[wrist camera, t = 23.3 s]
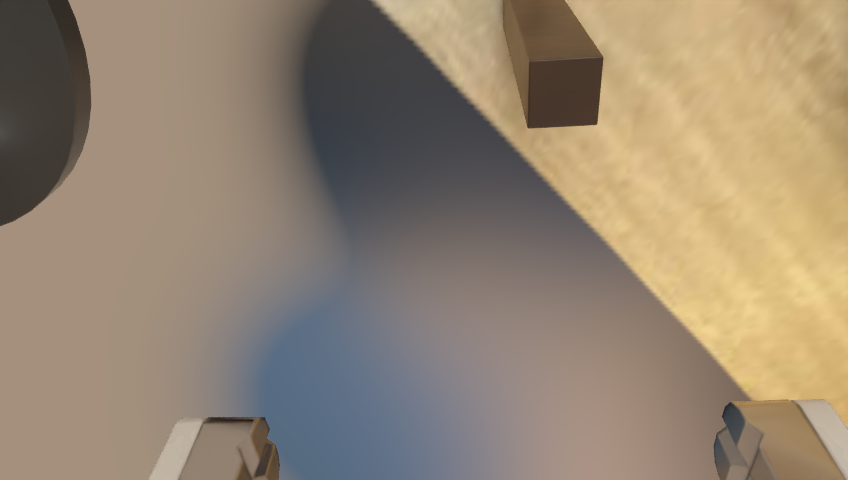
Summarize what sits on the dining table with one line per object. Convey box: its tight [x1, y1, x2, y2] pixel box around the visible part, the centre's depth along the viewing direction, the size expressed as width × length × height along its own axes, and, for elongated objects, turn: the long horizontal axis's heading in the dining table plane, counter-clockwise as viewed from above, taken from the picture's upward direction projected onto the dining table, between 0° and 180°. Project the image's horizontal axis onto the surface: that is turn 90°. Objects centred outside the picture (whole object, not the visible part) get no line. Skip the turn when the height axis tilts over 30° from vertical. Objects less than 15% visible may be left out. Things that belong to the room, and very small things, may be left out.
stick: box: [503, 0, 603, 128], centre depth 26 cm, size 2×2×14 cm
